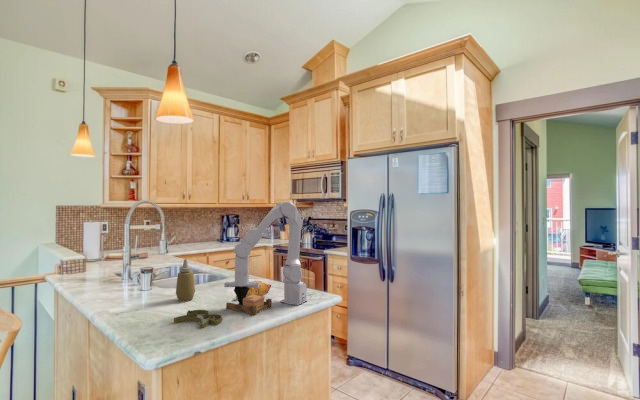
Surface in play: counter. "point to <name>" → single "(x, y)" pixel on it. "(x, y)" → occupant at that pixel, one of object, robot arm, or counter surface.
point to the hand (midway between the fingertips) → (241, 304)
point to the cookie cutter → (193, 317)
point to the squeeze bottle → (185, 283)
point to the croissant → (258, 289)
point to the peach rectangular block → (253, 301)
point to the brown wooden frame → (250, 310)
